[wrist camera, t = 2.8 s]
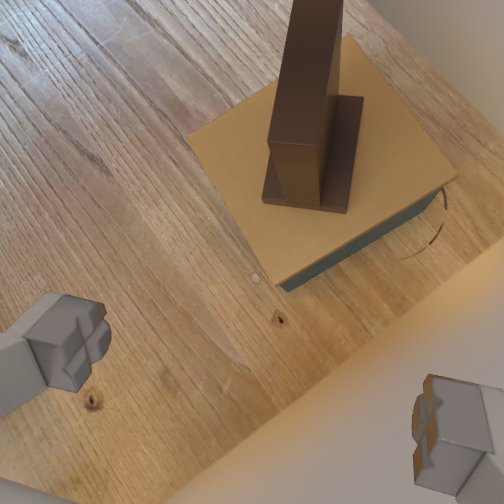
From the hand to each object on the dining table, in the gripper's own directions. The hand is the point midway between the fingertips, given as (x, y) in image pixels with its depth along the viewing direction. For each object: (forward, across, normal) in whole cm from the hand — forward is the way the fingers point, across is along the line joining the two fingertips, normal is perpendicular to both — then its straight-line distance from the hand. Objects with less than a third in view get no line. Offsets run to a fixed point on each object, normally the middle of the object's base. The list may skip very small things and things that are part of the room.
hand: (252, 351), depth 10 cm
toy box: (+23, +1, +8) cm, 24 cm away
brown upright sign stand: (+18, +1, +2) cm, 18 cm away
